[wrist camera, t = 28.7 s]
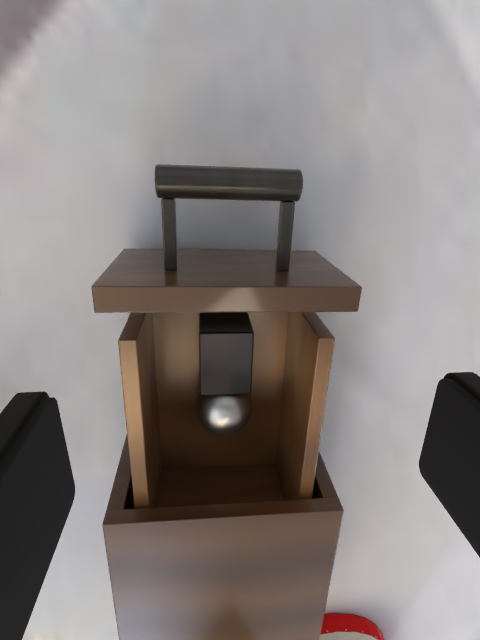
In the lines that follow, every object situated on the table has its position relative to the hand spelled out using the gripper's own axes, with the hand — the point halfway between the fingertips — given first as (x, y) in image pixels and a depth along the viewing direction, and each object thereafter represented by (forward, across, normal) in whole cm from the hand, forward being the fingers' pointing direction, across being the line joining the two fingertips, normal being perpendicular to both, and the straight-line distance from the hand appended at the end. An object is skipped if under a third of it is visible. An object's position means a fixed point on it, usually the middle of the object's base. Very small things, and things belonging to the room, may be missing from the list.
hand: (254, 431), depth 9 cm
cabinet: (+16, 0, +20) cm, 26 cm away
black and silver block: (+14, 0, +6) cm, 16 cm away
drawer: (+15, 0, +5) cm, 16 cm away
